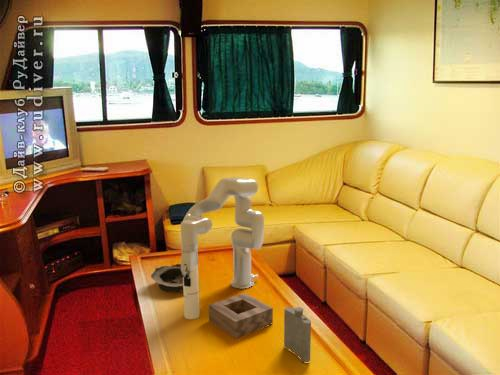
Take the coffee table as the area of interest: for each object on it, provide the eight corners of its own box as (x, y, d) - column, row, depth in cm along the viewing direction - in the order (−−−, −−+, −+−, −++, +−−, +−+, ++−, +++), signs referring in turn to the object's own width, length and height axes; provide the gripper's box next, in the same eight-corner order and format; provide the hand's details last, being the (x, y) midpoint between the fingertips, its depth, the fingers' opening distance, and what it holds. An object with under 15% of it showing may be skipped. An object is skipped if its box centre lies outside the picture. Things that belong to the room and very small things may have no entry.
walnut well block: (244, 308, 246) (244, 292, 244) (272, 324, 229) (272, 308, 228) (209, 320, 233) (208, 304, 231) (235, 338, 217) (235, 321, 215)
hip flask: (282, 346, 210) (283, 302, 206) (290, 343, 212) (291, 300, 208) (305, 364, 197) (306, 318, 193) (313, 361, 199) (314, 315, 195)
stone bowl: (156, 277, 283) (157, 262, 281) (200, 281, 283) (201, 265, 281) (146, 295, 259) (147, 278, 257) (194, 299, 259) (195, 282, 257)
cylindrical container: (196, 319, 234) (195, 269, 229) (182, 318, 235) (180, 268, 230) (201, 312, 241) (199, 263, 235) (187, 311, 242) (185, 262, 237)
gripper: (189, 240, 240) (190, 275, 244) (174, 252, 224) (175, 289, 227) (204, 241, 238) (205, 276, 242) (189, 253, 222) (190, 291, 225)
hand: (190, 282), depth 234 cm, fingers closed on cylindrical container, 7 cm apart
